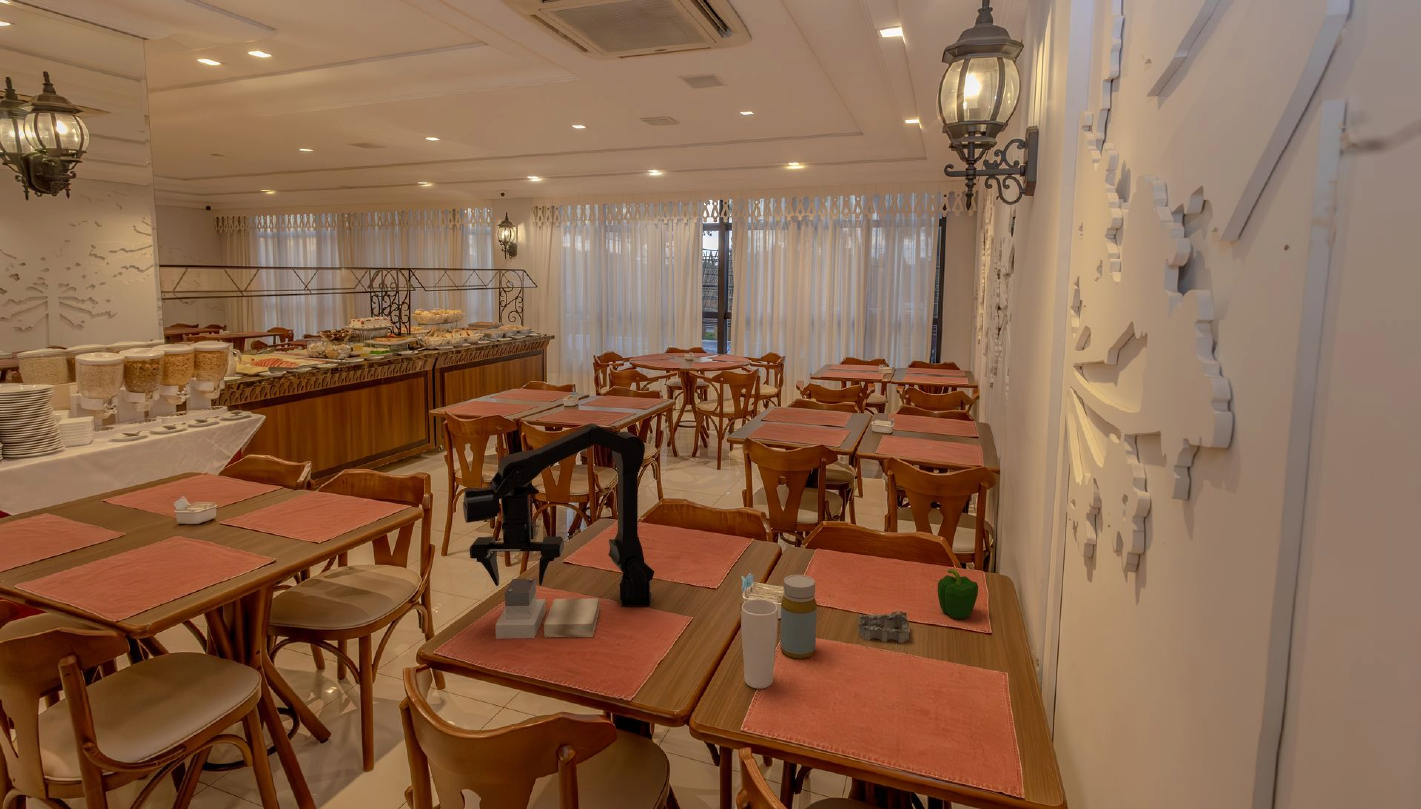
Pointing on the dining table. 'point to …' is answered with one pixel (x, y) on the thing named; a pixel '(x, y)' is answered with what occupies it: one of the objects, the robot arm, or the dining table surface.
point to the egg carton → (888, 622)
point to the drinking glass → (759, 641)
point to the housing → (520, 599)
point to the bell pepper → (957, 595)
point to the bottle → (798, 617)
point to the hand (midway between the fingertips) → (519, 585)
